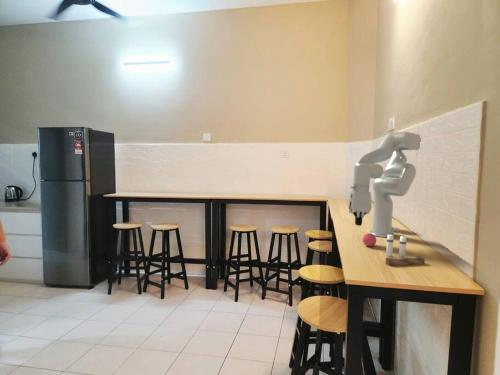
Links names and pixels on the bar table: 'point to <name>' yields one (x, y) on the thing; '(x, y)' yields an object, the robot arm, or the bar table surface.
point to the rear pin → (402, 246)
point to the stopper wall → (405, 260)
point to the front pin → (389, 245)
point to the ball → (369, 239)
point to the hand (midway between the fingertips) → (358, 225)
